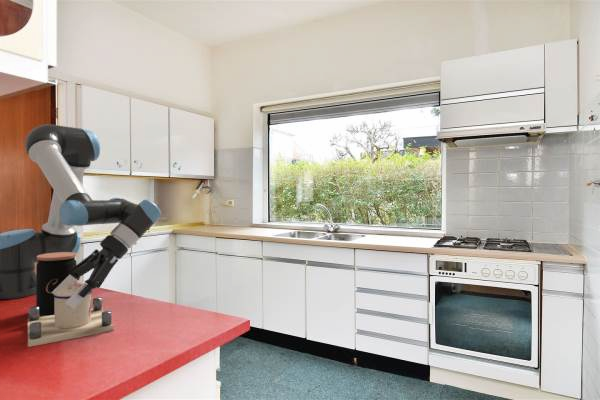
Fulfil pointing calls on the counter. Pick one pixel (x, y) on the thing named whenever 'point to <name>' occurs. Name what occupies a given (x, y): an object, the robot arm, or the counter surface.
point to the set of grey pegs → (36, 327)
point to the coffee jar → (51, 278)
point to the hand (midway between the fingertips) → (62, 300)
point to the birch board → (68, 329)
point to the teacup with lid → (67, 314)
